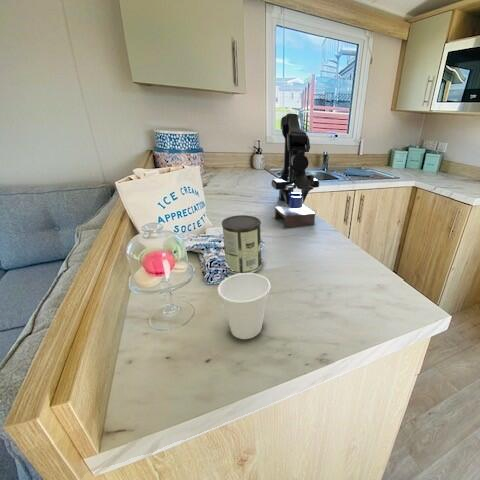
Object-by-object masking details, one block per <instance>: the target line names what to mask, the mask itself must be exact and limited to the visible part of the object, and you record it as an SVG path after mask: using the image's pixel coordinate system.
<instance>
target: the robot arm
mask: <svg viewBox="0 0 480 480" xmlns="http://www.w3.org/2000/svg"><path fill="white" fill-rule="evenodd" d="M280 130H281V133H282V136H283V138H284V149H283V150H284V151H283V152H284V153H283V154H284V155H283V157H284V158H283V167H282V170H281V171H280V173H279V176H278V178H273V179H272V180H271V187H272V188H273V189H274V190H275V191H276V190H278V198H279V200H281V201H282V202H285V203H286V206H287V205H288V204H289V193H294V190H295V189H298V190H300V193H301V194H303V204H304V203H305V200H306V199H307V196H308V194H309V192H310V191H313V190H314V188H320V181H319V180H318V179H317V178H315V176H314V175H313V174H309V175H306V169H307V168H308V167H309V165H310V162H309V159H308V157H307V155H306V153H310V151H311V144H310V138H309V135H308V134H307V132H306V130H305V129H303V128H302V126H301V118H300V115H299V113H297V112H296V113H294V112H288V113H286V114H285V115H284V116H282V117H281V119H280Z"/></svg>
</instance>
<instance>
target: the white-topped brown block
mask: <svg viewBox="0 0 480 480" xmlns="http://www.w3.org/2000/svg"><path fill="white" fill-rule="evenodd" d="M315 218H316V213H315V212H314V211H313V210H312V209H310V208H308V207H307V206H306V205H304V204H303V207H302V208H300V209H292V208H289V207H288V206H287V205H284V206H275V207H274V219H276V220H278V219H279V220H280V219H284V228H285V229H291V228H297V227H306V226H313V225H315V222H316V221H315V220H316V219H315Z"/></svg>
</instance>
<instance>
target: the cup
mask: <svg viewBox="0 0 480 480" xmlns="http://www.w3.org/2000/svg"><path fill="white" fill-rule="evenodd" d="M271 285H272V284H271V282H270V280H269V279H268V278H267V277H266V276H264V275H262V274H259V273H256V272H254V273H240V274H233V275H230V276H227V277H226V278H224V279H223V280H222V281H221V282H220V283H219V284H218V287H217V293H218V296H219V297H220V300H221V303H222V306H223V309H224V313H225V315H226V319H227V322H228V325H229V329H230V331H231V334H232V336H233V337H235V338H237V339H240V340H249V339H252V338H254V337H257V336H258V335H259V334H260V333H261V331H262V328H263V324H264V323H263V322H264V317H265V312H266V306H267V304H268V303H267V302H268V298H269V292H270V291H271V287H272V286H271Z"/></svg>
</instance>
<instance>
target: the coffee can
mask: <svg viewBox="0 0 480 480" xmlns="http://www.w3.org/2000/svg"><path fill="white" fill-rule="evenodd" d="M261 224H262V221H261V219H260V218H259V217H256V216H254V215H247V214H246V215H245V214H243V215H242V214H240V215H239V214H238V215H232V216H229V217H225V218H224V219H223V220H222V221H221V226H222V236H223V248H224V259H225V260H224V261H225V264H226V263H227V264H228V266H229V267H230V269H232V270H233V271H232V270H230V269H228V268H227V269H226V271H227V272H228V273H230V274H233V275H235V274H240V273H256V272H258V271H259V270H260V269H261V268H262V243H261V241H262V239H261V238H262V237H261Z"/></svg>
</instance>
